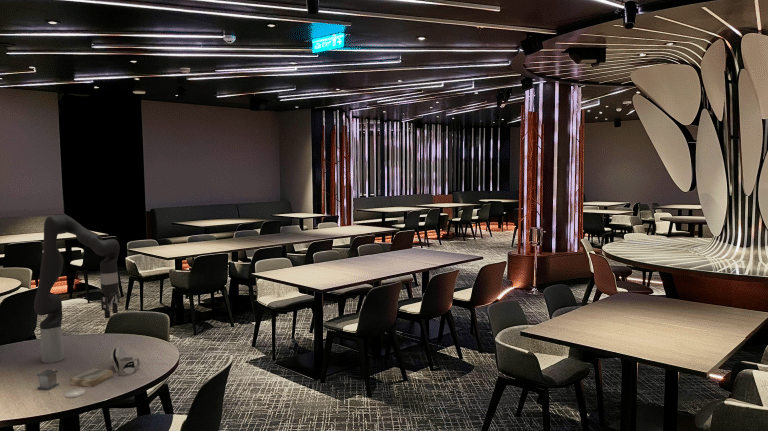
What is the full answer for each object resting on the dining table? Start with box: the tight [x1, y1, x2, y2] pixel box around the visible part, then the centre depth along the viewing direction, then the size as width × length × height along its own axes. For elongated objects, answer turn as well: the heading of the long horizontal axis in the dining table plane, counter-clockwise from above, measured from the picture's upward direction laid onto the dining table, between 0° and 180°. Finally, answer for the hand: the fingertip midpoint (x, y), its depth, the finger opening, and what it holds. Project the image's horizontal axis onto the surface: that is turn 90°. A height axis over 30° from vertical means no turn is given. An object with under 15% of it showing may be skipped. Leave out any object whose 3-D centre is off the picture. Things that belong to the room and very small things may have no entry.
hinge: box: [110, 346, 131, 373], centre depth 273 cm, size 17×5×10 cm, turn 19°
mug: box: [118, 356, 141, 377], centre depth 265 cm, size 10×7×7 cm
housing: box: [36, 369, 59, 391], centre depth 249 cm, size 6×6×7 cm
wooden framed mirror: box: [69, 368, 114, 388], centre depth 255 cm, size 12×12×3 cm
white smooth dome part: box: [64, 387, 87, 399], centre depth 241 cm, size 8×8×1 cm
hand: (111, 315), depth 266 cm, fingers open, 8 cm apart
